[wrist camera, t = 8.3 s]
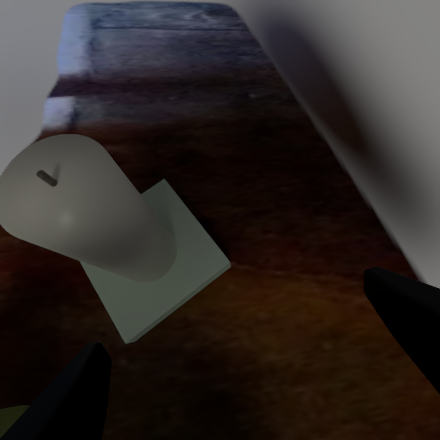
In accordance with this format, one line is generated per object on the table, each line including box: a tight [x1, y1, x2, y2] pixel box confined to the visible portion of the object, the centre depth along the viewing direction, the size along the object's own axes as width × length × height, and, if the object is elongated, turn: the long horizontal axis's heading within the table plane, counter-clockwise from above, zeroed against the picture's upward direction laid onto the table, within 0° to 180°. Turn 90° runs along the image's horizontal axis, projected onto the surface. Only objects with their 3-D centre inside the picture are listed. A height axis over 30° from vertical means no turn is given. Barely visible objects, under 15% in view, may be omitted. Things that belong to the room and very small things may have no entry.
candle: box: [0, 134, 177, 283], centre depth 16 cm, size 5×5×13 cm
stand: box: [80, 179, 231, 344], centre depth 23 cm, size 10×10×2 cm
